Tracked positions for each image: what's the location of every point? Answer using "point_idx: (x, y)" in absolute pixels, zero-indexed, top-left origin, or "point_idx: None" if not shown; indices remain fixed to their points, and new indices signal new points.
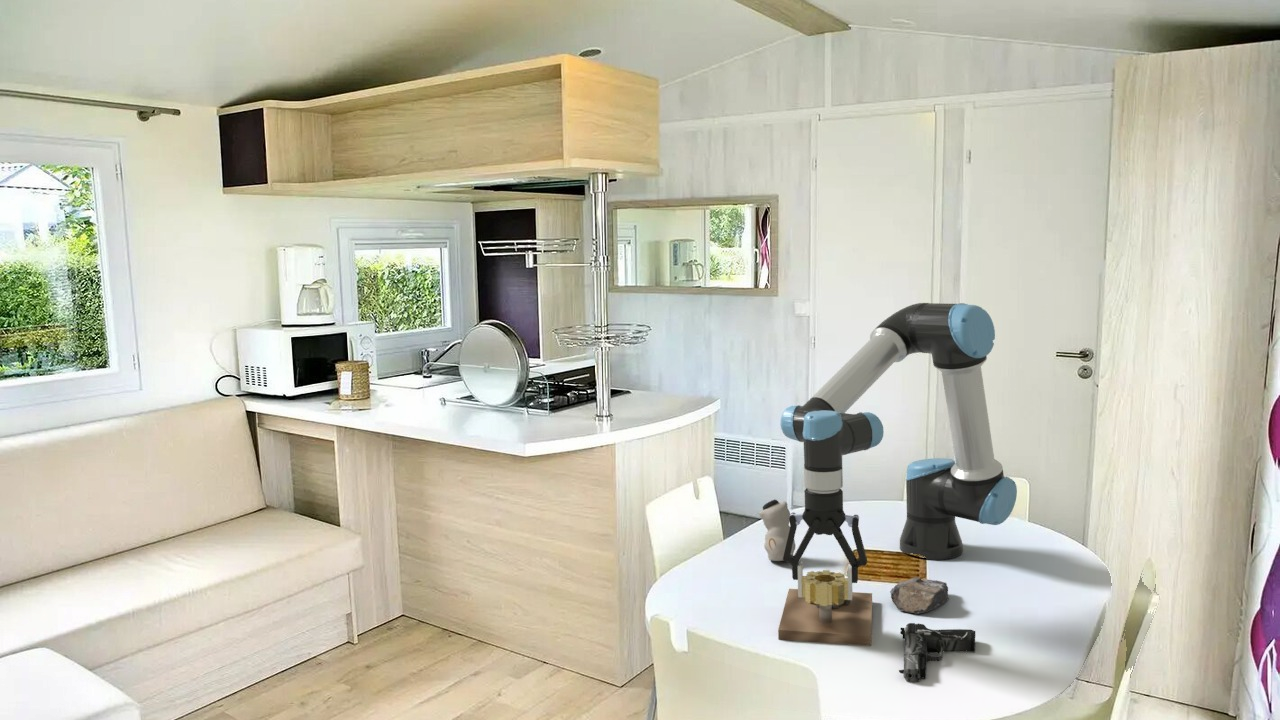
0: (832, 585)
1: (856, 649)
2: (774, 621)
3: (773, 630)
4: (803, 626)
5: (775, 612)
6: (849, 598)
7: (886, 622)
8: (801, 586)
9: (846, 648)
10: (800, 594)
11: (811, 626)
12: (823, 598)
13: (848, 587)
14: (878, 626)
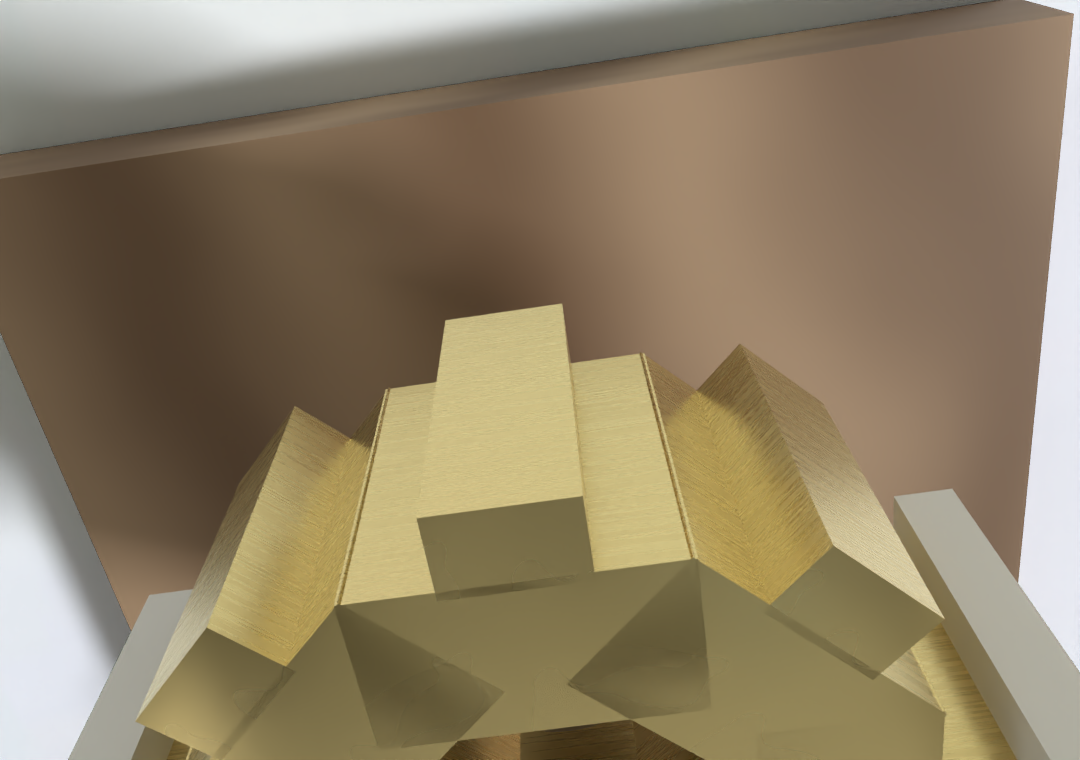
0: (329, 617)
1: (105, 16)
2: (1068, 414)
3: (1076, 213)
4: (765, 209)
5: (1062, 586)
6: (176, 606)
7: (71, 664)
8: (968, 613)
9: (218, 6)
10: (931, 519)
11: (672, 236)
12: (509, 374)
13: (131, 743)
14: (104, 579)
